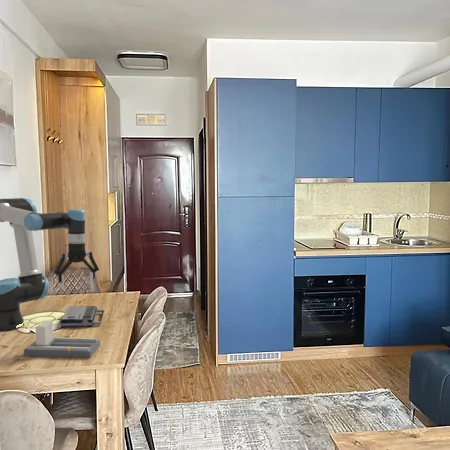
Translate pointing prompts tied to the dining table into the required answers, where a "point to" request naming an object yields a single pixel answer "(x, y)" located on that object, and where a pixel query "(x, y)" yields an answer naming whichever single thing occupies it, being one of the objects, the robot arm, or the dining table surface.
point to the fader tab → (44, 334)
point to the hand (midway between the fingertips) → (77, 287)
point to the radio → (80, 317)
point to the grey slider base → (65, 348)
